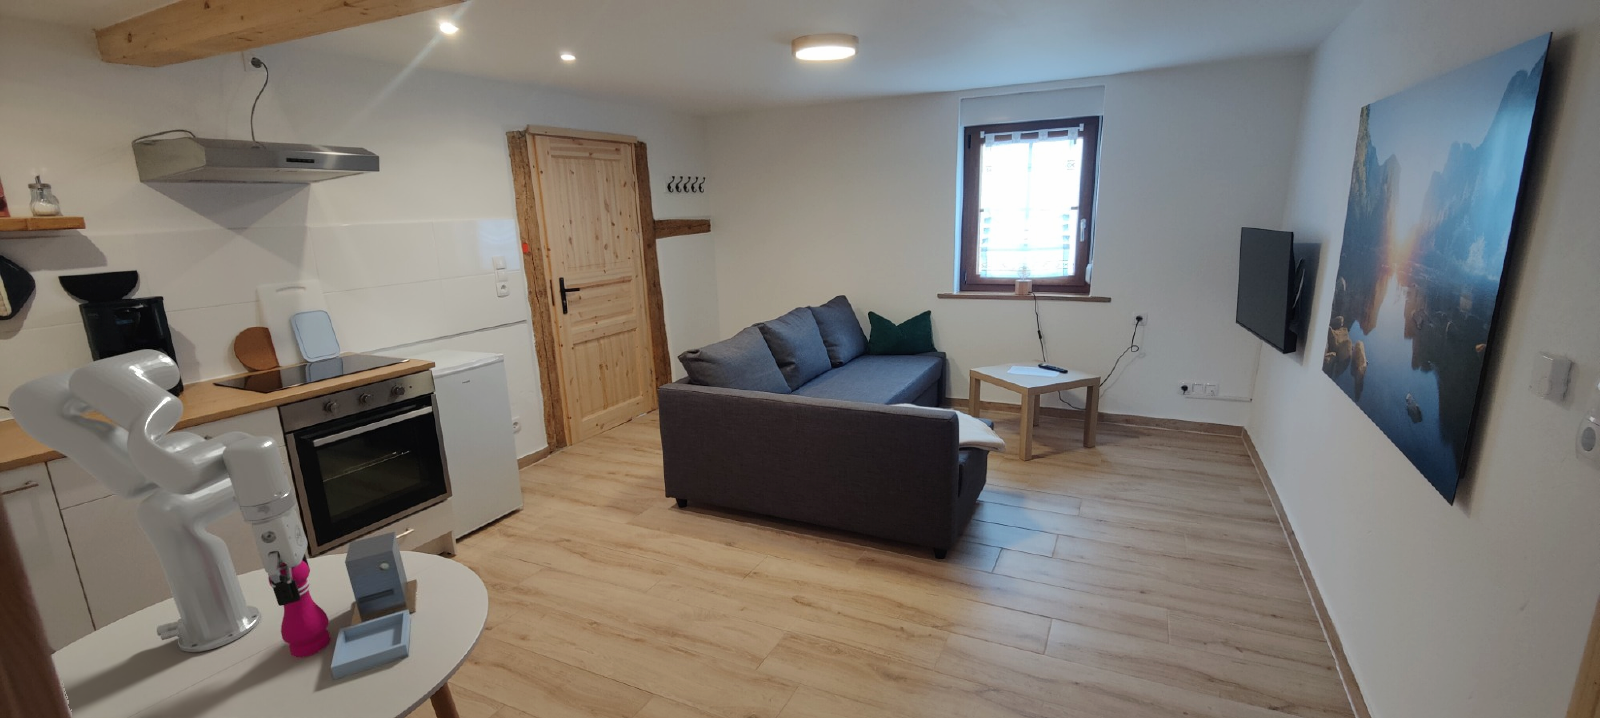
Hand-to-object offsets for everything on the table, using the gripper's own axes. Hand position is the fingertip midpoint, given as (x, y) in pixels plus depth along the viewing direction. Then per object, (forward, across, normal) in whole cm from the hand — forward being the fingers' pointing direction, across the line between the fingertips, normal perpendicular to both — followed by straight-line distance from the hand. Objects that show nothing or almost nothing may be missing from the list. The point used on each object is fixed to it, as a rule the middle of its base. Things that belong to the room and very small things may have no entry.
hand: (295, 588), depth 124 cm
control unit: (+13, +8, -11) cm, 19 cm away
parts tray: (+13, -6, -10) cm, 18 cm away
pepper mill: (+13, 0, +1) cm, 13 cm away
